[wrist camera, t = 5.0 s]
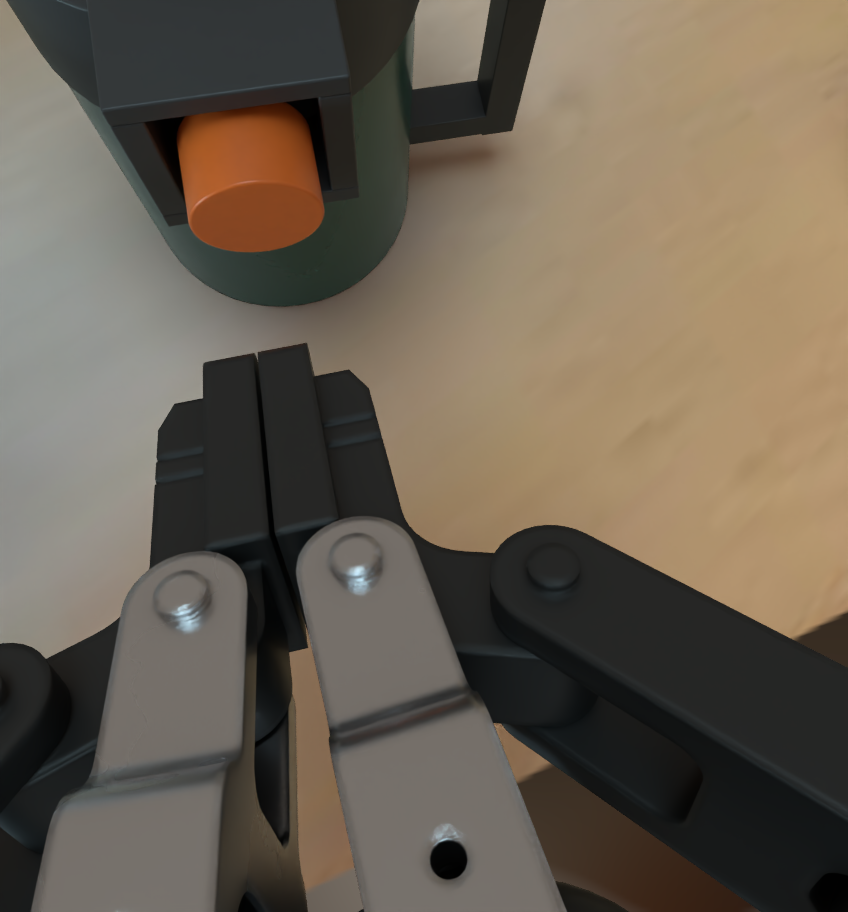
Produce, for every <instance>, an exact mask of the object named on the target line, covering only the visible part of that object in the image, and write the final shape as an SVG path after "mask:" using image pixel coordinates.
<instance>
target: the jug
mask: <svg viewBox="0 0 848 912" xmlns="http://www.w3.org/2000/svg"><path fill="white" fill-rule="evenodd" d="M7 2H8V3H9V5H10V6H11V8H12V10H13V11H14V13H15V14H16V16H17V17H18V19H19V20H20V22H21V24H22V25H23V27H24V28H25V30H26V31H27V33H28V35H29V36H30V38H31V39H32V41H33V42H34V44H35V46H36V47H37V49H38V50H39V51H40V53H41V54H42V55H43V57H44V58H45V59H46V61H47V62H48V63H49V65H50V66H51V67H52V69H53V70H54V71H55V72H56V73H57V74H58V75H59V76H60V77H61V78H62V79H63V80H64V81H65V82H66V83H67V84H68V85H69V87H70V89H71V90H72V92H73V93H74V95H75V97H76V98H77V100H78V101H79V103H80V105H81V106H82V108H83V109H84V111H85V113H86V114H87V116H88V117H89V119H90V121H91V122H92V124H93V125H94V127H95V129H96V130H97V132H98V133H99V135H100V137H101V138H102V140H103V141H104V143H105V145H106V146H107V148H108V149H109V151H110V153H111V154H112V156H113V157H114V159H115V161H116V162H117V164H118V165H119V167H120V169H121V170H122V172H123V173H124V175H125V177H126V178H127V180H128V181H129V183H130V185H131V186H132V188H133V189H134V191H135V193H136V194H137V196H138V197H139V199H140V201H141V202H142V204H143V205H144V207H145V209H146V210H147V212H148V213H149V215H150V217H151V218H152V220H153V221H154V223H155V225H156V226H157V228H158V229H159V231H160V233H161V234H162V236H163V237H164V239H165V241H166V242H167V244H168V245H169V247H170V249H171V250H172V252H173V253H174V254H175V256H176V257H177V258H178V260H179V261H180V262H181V263H182V264H183V265H184V266H185V267H186V268H187V269H188V270H189V272H190V273H191V274H193V275H194V276H195V277H196V278H198V279H199V280H200V281H202V282H203V283H204V284H206V285H207V286H209V287H211V288H213V289H214V290H216V291H218V292H220V293H222V294H224V295H227V296H229V297H232V298H234V299H237V300H241V301H244V302H248V303H252V304H259V305H266V306H293V305H302V304H307V303H311V302H316V301H320V300H322V299H325V298H328V297H331V296H333V295H336V294H338V293H340V292H342V291H344V290H346V289H348V288H350V287H351V286H352V285H354V284H355V283H357V282H358V281H360V280H361V279H363V278H364V277H365V276H366V275H367V274H368V273H370V272H371V271H372V270H373V269H374V268H375V267H376V266H377V265H378V264H379V262H380V261H381V260H382V259H383V258H384V257H385V256H386V254H387V252H388V251H389V249H390V248H391V246H392V245H393V243H394V241H395V239H396V237H397V235H398V233H399V231H400V229H401V225H402V222H403V219H404V216H405V211H406V205H407V196H408V172H409V149H410V144H416V143H423V142H430V141H436V140H443V139H450V138H457V137H464V136H470V135H477V134H482V135H486V134H493V133H500V132H507V131H512V129H513V125H514V122H515V118H516V114H517V110H518V106H519V102H520V98H521V94H522V91H523V87H524V83H525V79H526V75H527V71H528V67H529V64H530V60H531V56H532V52H533V48H534V44H535V40H536V36H537V33H538V29H539V25H540V21H541V17H542V13H543V9H544V6H545V2H546V0H491V2H490V8H489V14H488V20H487V26H486V32H485V38H484V44H483V50H482V56H481V62H480V68H479V74H478V80H477V81H471V82H464V83H457V84H450V85H443V86H436V87H428V88H421V89H414V90H412V77H413V53H414V29H415V12H416V9H417V6H418V2H419V0H7ZM282 102H286V103H288V104H290V105H291V106H293V107H294V108H296V109H297V110H298V111H299V112H300V113H301V114H302V115H303V117H304V118H305V119H306V121H307V123H308V125H309V128H310V132H311V138H312V143H313V149H314V154H315V160H316V165H317V171H318V176H319V182H320V187H321V193H322V198H323V204H324V217H323V220H322V223H321V224H320V226H319V227H318V228H317V229H316V230H315V232H313V233H312V234H311V235H310V236H308V237H307V238H305V239H303V240H301V241H299V242H297V243H295V244H292V245H290V246H287V247H284V248H280V249H275V250H270V251H263V252H235V251H228V250H223V249H219V248H216V247H213V246H211V245H208V244H207V243H205V242H203V241H202V240H200V239H199V238H198V237H197V236H196V235H195V234H194V233H193V231H192V230H191V228H190V226H189V223H188V216H187V209H186V202H185V195H184V188H183V181H182V175H181V168H180V161H179V154H178V147H177V140H176V138H177V131H178V128H179V125H180V124H181V122H182V120H183V119H184V117H185V116H190V115H197V114H204V113H211V112H218V111H225V110H232V109H239V108H247V107H254V106H261V105H268V104H275V103H282Z"/></svg>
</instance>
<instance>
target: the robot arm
mask: <svg viewBox="0 0 848 912" xmlns="http://www.w3.org/2000/svg"><path fill="white" fill-rule="evenodd" d="M157 460H158V462H157V463H156V475H155V480H156V485H155V491H154V507H153V523H152V539H151V555H150V568H149V570H148V571H147V572H146V573H145V574H143V575H142V576H141V577H140V578H139V579H138V581H137V582H136V583H135V584H134V585H133V587H132V588H131V590H130V591H129V592H128V594H127V596H126V599H125V601H124V604H123V607H122V611H121V616H120V618H118V619H117V620H116V621H115V622H113V623H112V624H111V625H109V626H108V627H106V628H105V629H103V630H101V631H100V632H98V633H96V634H94V635H93V636H91V637H89V638H87V639H85V640H83V641H81V642H79V643H77V644H75V645H73V646H71V647H69V648H67V649H65V650H63V651H61V652H59V653H57V654H55V655H53V656H51V657H49V658H47V659H45V658H44V657H43V656H42V654H41V653H40V652H38V651H37V650H35V649H34V648H32V647H29V646H27V645H24V644H17V643H2V644H0V912H308V910H307V900H306V893H305V887H304V882H303V878H302V874H301V868H300V860H299V848H298V801H297V747H296V707H295V701H294V698H293V695H292V677H291V667H290V657H289V652H292V651H296V650H301V649H305V648H308V644H307V636H306V628H305V624H306V627H307V630H308V633H309V637H310V642H311V646H312V651H313V656H314V660H315V665H316V669H317V674H318V679H319V683H320V688H321V692H322V697H323V702H324V706H325V711H326V715H327V720H328V725H329V731H330V737H329V745H330V752H331V758H332V763H333V768H334V773H335V777H336V782H337V787H338V792H339V796H340V801H341V806H342V810H343V815H344V820H345V824H346V829H347V834H348V838H349V843H350V848H351V852H352V857H353V862H354V867H355V871H356V876H357V880H358V885H359V890H360V895H361V899H362V903H363V909H362V910H361V911H359V912H628V911H627V910H625V909H624V908H622V907H621V906H619V905H618V904H616V903H614V902H612V901H610V900H608V899H606V898H604V897H601V896H599V895H597V894H595V893H593V892H590V891H588V890H585V889H582V888H579V887H576V886H573V885H570V884H566V883H563V882H557V881H555V880H554V878H553V875H552V872H551V870H550V867H549V865H548V862H547V860H546V857H545V855H544V852H543V849H542V847H541V844H540V842H539V839H538V837H537V834H536V832H535V829H534V826H533V824H532V822H531V819H530V816H529V814H528V811H527V809H526V806H525V804H524V801H523V798H522V796H521V793H520V791H519V788H518V786H517V783H516V780H515V778H514V775H513V773H512V770H511V768H510V765H509V763H508V760H507V757H506V755H505V752H504V750H503V747H502V745H501V742H500V739H499V737H498V734H497V732H496V729H495V727H494V724H493V723H501V724H502V725H503V727H504V728H505V729H506V730H507V731H508V732H509V733H510V734H511V735H512V736H514V737H515V738H516V739H517V740H519V741H520V742H522V743H523V744H525V745H526V746H527V747H529V748H530V749H532V750H533V751H534V752H536V753H537V754H539V755H540V756H542V757H543V758H544V759H546V760H547V761H549V762H550V763H551V764H553V765H554V766H556V767H557V768H558V769H560V770H561V771H563V772H564V773H566V774H567V775H568V776H570V777H571V778H573V779H574V780H576V781H577V782H578V783H580V784H581V785H583V786H584V787H585V788H587V789H588V790H590V791H591V792H592V793H594V794H595V795H597V796H598V797H599V798H601V799H602V800H604V801H605V802H607V803H608V804H609V805H611V806H612V807H614V808H615V809H616V810H618V811H619V812H621V813H622V814H623V815H625V816H626V817H628V818H629V819H631V820H632V821H633V822H635V823H636V824H638V825H639V826H640V827H642V828H643V829H645V830H646V831H648V832H649V833H650V834H652V835H653V836H655V837H656V838H657V839H659V840H660V841H662V842H663V843H665V844H666V845H667V846H669V847H670V848H672V849H673V850H674V851H676V852H677V853H679V854H680V855H681V856H683V857H684V858H686V859H687V860H689V861H690V862H691V863H693V864H694V865H696V866H697V867H698V868H700V869H701V870H703V871H704V872H705V873H707V874H709V875H710V876H711V877H713V878H714V879H716V880H717V881H718V882H720V883H721V884H723V885H724V886H725V887H727V888H728V889H730V890H731V891H733V892H734V893H735V894H737V895H738V896H739V897H741V898H743V899H744V900H745V901H746V902H748V903H749V904H751V905H752V906H754V907H755V908H756V909H758V910H759V911H761V912H848V668H847V667H845V666H843V665H841V664H839V663H837V662H835V661H833V660H831V659H829V658H827V657H825V656H824V655H822V654H820V653H817V652H816V651H814V650H812V649H810V648H808V647H806V646H804V645H802V644H800V643H798V642H796V641H794V640H792V639H790V638H788V637H786V636H785V635H783V634H781V633H779V632H777V631H775V630H773V629H771V628H769V627H767V626H765V625H763V624H761V623H759V622H757V621H755V620H753V619H751V618H749V617H748V616H746V615H744V614H742V613H740V612H738V611H736V610H734V609H732V608H730V607H728V606H726V605H724V604H722V603H720V602H718V601H716V600H714V599H712V598H710V597H709V596H707V595H705V594H703V593H701V592H699V591H697V590H695V589H693V588H691V587H689V586H687V585H685V584H683V583H681V582H679V581H677V580H675V579H673V578H671V577H670V576H668V575H666V574H664V573H662V572H660V571H658V570H656V569H654V568H652V567H650V566H648V565H646V564H644V563H642V562H640V561H638V560H636V559H634V558H633V557H631V556H629V555H627V554H625V553H623V552H621V551H619V550H617V549H615V548H613V547H611V546H609V545H607V544H605V543H603V542H601V541H599V540H597V539H595V538H594V537H592V536H590V535H588V534H586V533H583V532H581V531H579V530H576V529H573V528H569V527H565V526H558V525H542V526H534V527H531V528H527V529H524V530H522V531H519V532H517V533H515V534H513V535H512V536H510V537H509V538H507V539H506V540H505V541H504V542H503V543H502V544H501V545H500V546H499V548H498V549H497V550H496V552H495V553H483V552H465V551H456V550H450V549H446V548H442V547H439V546H437V545H434V544H432V543H430V542H428V541H426V540H424V539H423V538H422V537H420V536H419V535H418V534H416V533H415V532H414V531H413V530H412V528H411V527H410V526H409V525H408V523H407V522H406V520H405V518H404V515H403V513H402V510H401V506H400V502H399V499H398V495H397V491H396V487H395V484H394V480H393V476H392V473H391V469H390V465H389V461H388V458H387V454H386V450H385V447H384V443H383V439H382V436H381V432H380V428H379V424H378V421H377V418H376V413H375V409H374V406H373V402H372V398H371V395H370V391H369V388H368V387H367V386H366V385H365V384H364V383H363V382H362V381H361V380H359V379H358V378H357V377H356V376H355V375H354V374H353V373H352V372H351V371H350V370H344V371H339V372H334V373H329V374H324V375H319V376H314V371H313V367H312V362H311V358H310V354H309V349H308V345H307V343H303V344H298V345H293V346H288V347H282V348H277V349H272V350H267V351H261V352H258V360H257V358H256V355H255V354H254V353H252V354H247V355H241V356H236V357H231V358H226V359H220V360H215V361H210V362H205V363H204V364H203V398H202V399H197V400H192V401H187V402H182V403H177V404H174V406H173V407H172V409H171V411H170V412H169V414H168V415H167V417H166V419H165V420H164V422H163V424H162V425H161V427H160V428H159V430H158V444H157Z"/></svg>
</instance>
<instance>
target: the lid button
mask: <svg viewBox="0 0 848 912" xmlns="http://www.w3.org/2000/svg"><path fill="white" fill-rule="evenodd" d="M176 140H177V147H178V154H179V161H180V168H181V175H182V181H183V188H184V195H185V202H186V209H187V216H188V223H189V226H190V228H191V230H192V231H193V233H194V234H195V235H196V236H197V237H198V238H199V239H200V240H202V241H203V242H205V243H207V244H208V245H211V246H213V247H216V248H219V249H223V250H228V251H235V252H263V251H270V250H275V249H280V248H284V247H287V246H290V245H292V244H295V243H297V242H299V241H301V240H303V239H305V238H307V237H308V236H310V235H311V234H312V233H313V232H315V230H316V229H317V228H318V227H319V226H320V224H321V223H322V220H323V217H324V204H323V198H322V193H321V187H320V182H319V176H318V171H317V165H316V160H315V154H314V149H313V143H312V138H311V132H310V128H309V125H308V123H307V121H306V119H305V118H304V117H303V115H302V114H301V113H300V112H299V111H298V110H297V109H296V108H294V107H293V106H291V105H290V104H288V103H286V102H282V103H275V104H268V105H261V106H254V107H247V108H239V109H232V110H225V111H218V112H211V113H204V114H197V115H190V116H185V117H184V119H183V120H182V122H181V124H180V125H179V128H178V131H177V138H176Z"/></svg>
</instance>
